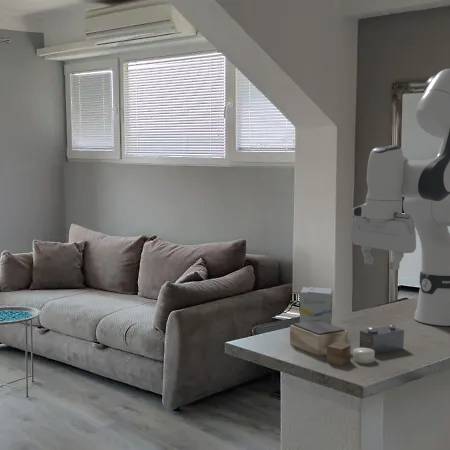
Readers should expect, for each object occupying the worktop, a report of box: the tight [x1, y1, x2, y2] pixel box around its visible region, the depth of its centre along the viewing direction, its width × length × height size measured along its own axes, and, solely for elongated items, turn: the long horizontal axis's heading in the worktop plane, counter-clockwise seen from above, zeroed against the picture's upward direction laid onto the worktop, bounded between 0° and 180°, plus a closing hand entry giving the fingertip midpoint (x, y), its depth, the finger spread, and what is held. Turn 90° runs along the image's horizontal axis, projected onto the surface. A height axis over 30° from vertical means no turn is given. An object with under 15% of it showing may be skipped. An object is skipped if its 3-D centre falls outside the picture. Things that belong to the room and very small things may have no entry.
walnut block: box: [326, 343, 352, 366], centre depth 165 cm, size 4×4×4 cm
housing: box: [359, 324, 405, 355], centre depth 175 cm, size 10×5×6 cm, turn 119°
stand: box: [289, 320, 348, 357], centre depth 176 cm, size 9×12×5 cm
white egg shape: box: [352, 347, 376, 365], centre depth 166 cm, size 5×5×2 cm
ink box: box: [299, 286, 334, 325], centre depth 192 cm, size 9×9×12 cm
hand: (381, 266), depth 173 cm, fingers open, 8 cm apart
